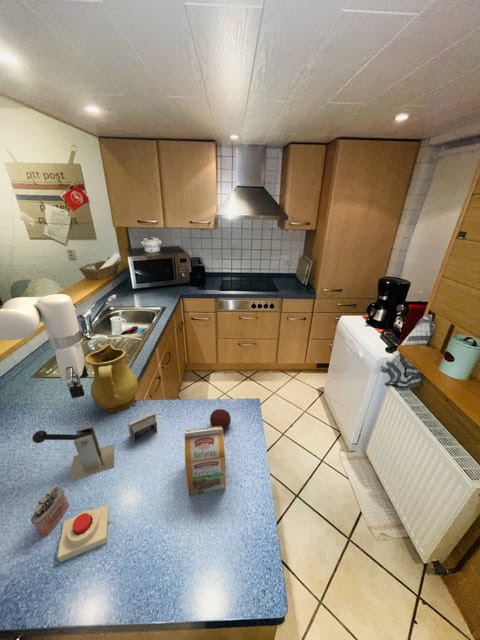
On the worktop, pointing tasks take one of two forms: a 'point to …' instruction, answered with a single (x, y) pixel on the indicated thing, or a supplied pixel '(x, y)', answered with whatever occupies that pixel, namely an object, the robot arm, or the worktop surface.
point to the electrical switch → (142, 425)
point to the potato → (220, 418)
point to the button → (82, 523)
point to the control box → (84, 534)
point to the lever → (56, 436)
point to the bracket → (90, 455)
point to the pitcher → (112, 379)
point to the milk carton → (205, 460)
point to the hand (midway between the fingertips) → (80, 386)
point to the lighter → (50, 511)
